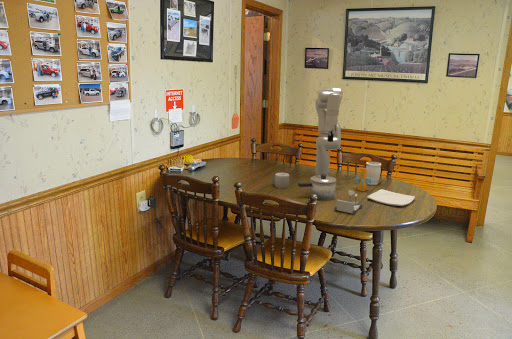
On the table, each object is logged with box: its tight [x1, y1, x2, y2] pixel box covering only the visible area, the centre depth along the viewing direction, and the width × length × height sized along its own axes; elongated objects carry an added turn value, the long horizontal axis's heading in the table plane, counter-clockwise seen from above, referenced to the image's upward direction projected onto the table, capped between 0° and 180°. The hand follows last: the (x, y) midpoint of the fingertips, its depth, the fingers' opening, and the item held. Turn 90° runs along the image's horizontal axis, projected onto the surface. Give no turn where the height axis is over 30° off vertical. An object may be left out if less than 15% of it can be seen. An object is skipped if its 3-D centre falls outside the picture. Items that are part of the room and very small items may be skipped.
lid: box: [310, 174, 337, 184], centre depth 257 cm, size 17×16×4 cm
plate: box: [366, 188, 416, 207], centre depth 256 cm, size 24×24×3 cm
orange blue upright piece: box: [354, 167, 371, 192], centre depth 274 cm, size 12×10×15 cm
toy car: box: [334, 189, 363, 216], centre depth 237 cm, size 18×10×12 cm
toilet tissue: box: [271, 172, 290, 189], centre depth 278 cm, size 9×13×9 cm
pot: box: [297, 178, 337, 201], centre depth 258 cm, size 16×24×10 cm
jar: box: [365, 161, 382, 186], centre depth 289 cm, size 11×10×15 cm
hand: (330, 141), depth 262 cm, fingers closed
